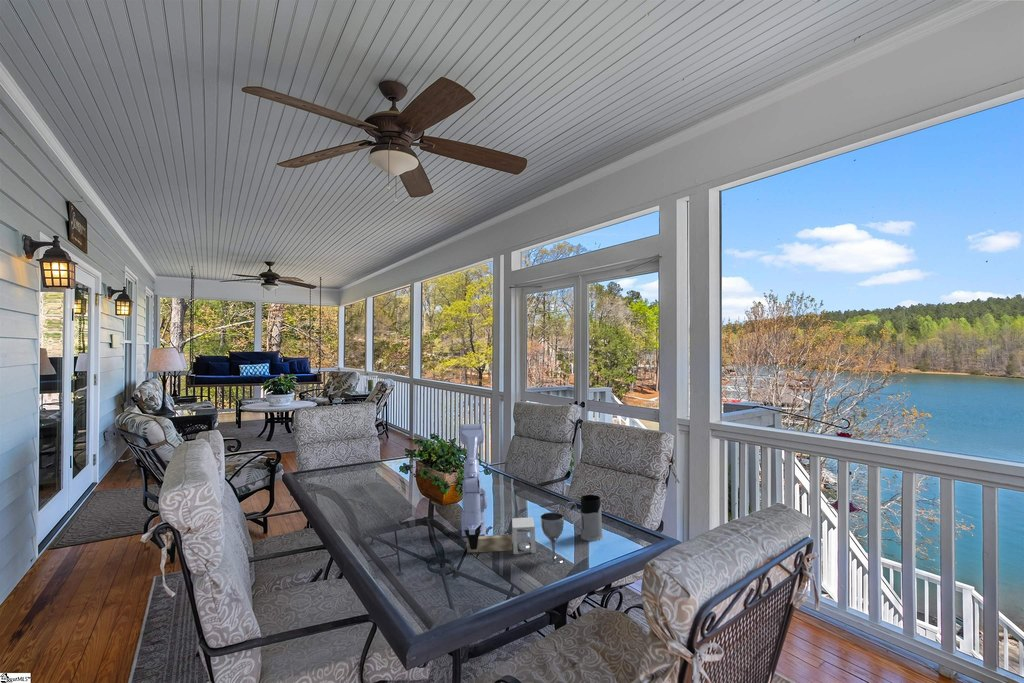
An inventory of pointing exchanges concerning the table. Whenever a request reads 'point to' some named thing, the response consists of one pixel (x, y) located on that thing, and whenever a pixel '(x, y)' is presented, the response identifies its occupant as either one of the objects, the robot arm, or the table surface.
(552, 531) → the wine glass
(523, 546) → the steel disc
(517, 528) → the small white stool
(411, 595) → the table surface
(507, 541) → the push stick
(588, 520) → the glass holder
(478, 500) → the robot arm
